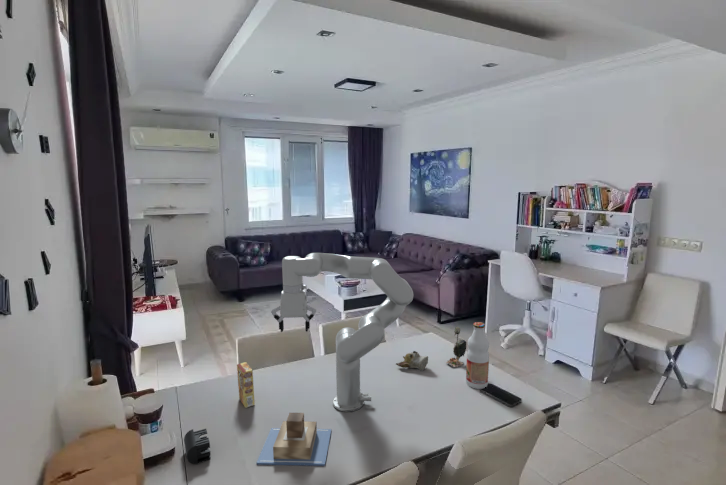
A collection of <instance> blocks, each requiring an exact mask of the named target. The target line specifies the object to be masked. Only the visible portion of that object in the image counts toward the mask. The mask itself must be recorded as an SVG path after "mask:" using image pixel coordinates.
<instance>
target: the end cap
mask: <svg viewBox="0 0 726 485" xmlns="http://www.w3.org/2000/svg"><path fill="white" fill-rule="evenodd" d="M207 430H208V429H207V428H202V429H199V430H196V431H194V428H193V429H190V430H188V431H187V432H186V434H185V435H184V438H183V443H184V448H185V454H186V455H185V456H186V460H187V462H189V463H191V464H197V465H198V464H201V463H205V462H208V461H210V460H211V455H212V454H211V450H210V448H211V444H210V438H209V437H207V434H208V431H207Z"/></svg>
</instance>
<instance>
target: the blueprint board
mask: <svg viewBox="0 0 726 485" xmlns="http://www.w3.org/2000/svg"><path fill="white" fill-rule="evenodd" d="M280 428H281V427H279V428H278V427H271V428H270V430H269V432H268V435H267V437H266V439H265V442H264V444H263V446H262V449H261V451H260V453H259V456H258V458H257V461H256V465H267V466H268V465H270V466H271V465H272V466H311V467H312V466H313V467H316V466H317V467H319V466H322V467H325V466H326V462H327V457H328V450H329V444H330V440H331V435H332V429H331V428H317V433H316V438H315V442H314V446H313V450H312V454H311V459H274V457H273V446H274V443H275V441H276V438H277V436H278V433H279V430H280Z"/></svg>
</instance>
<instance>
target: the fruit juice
mask: <svg viewBox="0 0 726 485" xmlns="http://www.w3.org/2000/svg"><path fill="white" fill-rule="evenodd" d="M472 326H473V331H472V334H471V335H470V336H469V338H468V339H467V347H468V348H467V350H466V351H467V353H466V365H465V366H466V367H465V368H466V369H465V370H466V373H465V383H466V385H467V386H468V387H470V388H473V389H475V390H476V389H477V390H482V389H485V387H486V388H487V387H488V384H489V366H490V354H489V349H490V340H489V339H488V337H487V334H486V331H485V329H486V324H485V323H484V322H481V321H480V322H479V321H478V322H473V324H472Z"/></svg>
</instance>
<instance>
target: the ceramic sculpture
mask: <svg viewBox="0 0 726 485" xmlns="http://www.w3.org/2000/svg"><path fill="white" fill-rule="evenodd" d="M402 358H403V359H404V361H400V362H397V363H395V365H397V366H398V367H400V368H403V369H406V368H410V369H418V370H420V371H425V369H426V367H427V365H428V363H429V356H427V355H424V356H423V355H420V352H418V351H416V350H413V351H412V352H411V351H409V352H407V353H406V354H405V355H404V356H402Z"/></svg>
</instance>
